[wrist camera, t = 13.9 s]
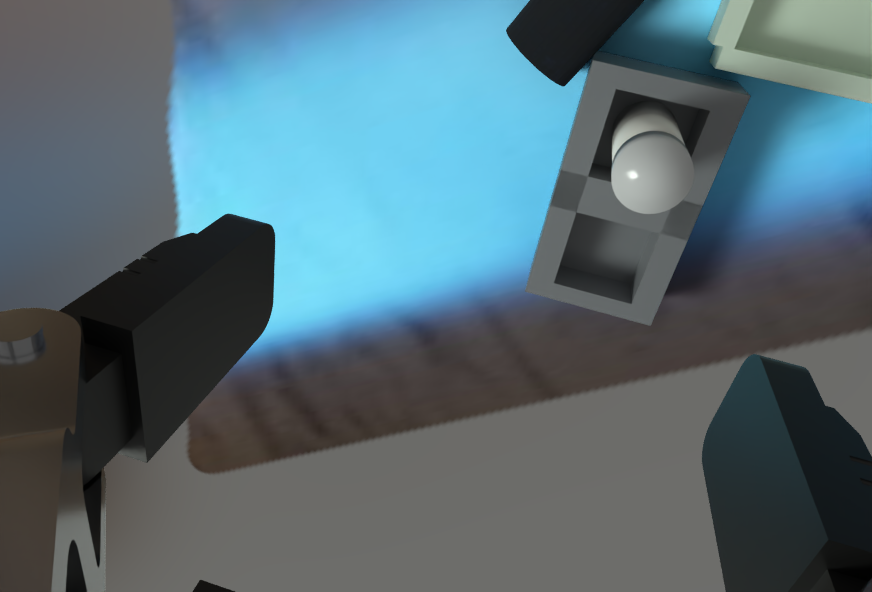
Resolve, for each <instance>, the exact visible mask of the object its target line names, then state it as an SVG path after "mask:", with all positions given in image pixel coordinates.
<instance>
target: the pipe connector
mask: <svg viewBox="0 0 872 592" xmlns="http://www.w3.org/2000/svg"><path fill="white" fill-rule="evenodd" d="M643 1H644V0H530V1H529V2H528V3H527V5H526V6H525V7H524V8H523V9H522V11H521V12H520V13H519V14H518V16H517V17H516V18H515V19H514V20H513V22H512V23H511V24H510V25H509V27H508V28H507V29H506V32H507V34H508V36H509V38H510V39H511V41H512V42H513V44H514V45H515V46H516V47H517V48H518V50H519V51H520V52H521V53H522V54H523V55H524V56H525V57H526V58H527V59H528V60H529V61H530V62H531V63H532V64H533V65H534V66H535V67H536V68H537V69H538V70H539V71H540V72H542V73H543V74H544V75H545V76H547V77H548V78H549V79H551V80H552V81H554V82H555V83H557V84H559V85H561V86H565V85H566V84H567V83H568V82H569V81H570V80H571V79H572V78H573V77H574V76H575V75H576V74H577V72H578V71H579V70H580V69H581V68H582V67H583V66H584V65H585V64H586V63H587V62H588V61H589V60H590V58H591V57H592V56H593V55H594V54H595V53H596V52H597V51H598V50H599V49H600V48H601V47H602V46H603V45H604V43H605V42H606V41H607V40H608V39H609V38H610V37H611V36H612V35H613V34H614V33H615V32H616V31H617V29H618V28H619V27H620V26H621V25H622V24H623V23H624V22H625V21H626V20H627V19H628V18H629V17H630V15H631V14H632V13H633V12H634V11H635V10H636V9H637V8H638V7H639V6H640V5H641V4H642V3H643Z"/></svg>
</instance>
